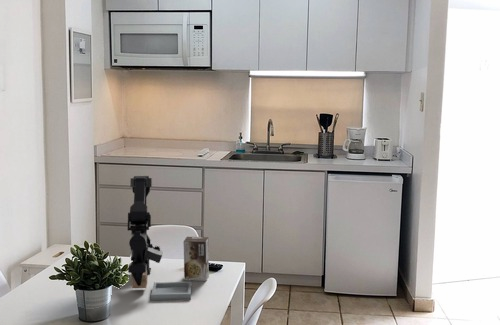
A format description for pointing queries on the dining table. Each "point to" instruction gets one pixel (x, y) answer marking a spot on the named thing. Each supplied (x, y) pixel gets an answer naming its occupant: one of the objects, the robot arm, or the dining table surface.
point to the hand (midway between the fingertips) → (139, 282)
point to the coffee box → (196, 258)
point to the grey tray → (171, 291)
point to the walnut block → (143, 282)
